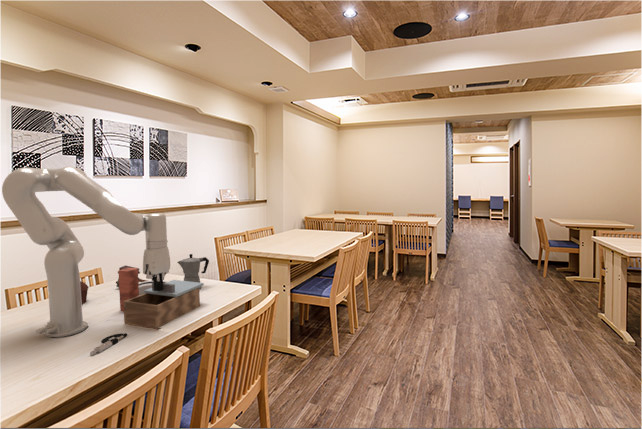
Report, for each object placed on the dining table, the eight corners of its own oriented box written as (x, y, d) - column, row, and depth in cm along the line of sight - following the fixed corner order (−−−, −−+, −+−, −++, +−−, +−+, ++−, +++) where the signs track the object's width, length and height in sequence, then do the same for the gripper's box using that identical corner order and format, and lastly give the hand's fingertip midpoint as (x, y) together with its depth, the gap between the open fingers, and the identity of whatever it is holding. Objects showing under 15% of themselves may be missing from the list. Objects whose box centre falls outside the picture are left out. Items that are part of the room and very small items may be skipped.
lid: (176, 297, 139) (175, 287, 139) (144, 292, 144) (143, 283, 144) (203, 285, 155) (203, 276, 155) (173, 281, 160) (173, 273, 160)
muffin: (94, 302, 160) (92, 280, 159) (65, 309, 151) (64, 286, 150) (82, 297, 167) (80, 276, 166) (54, 304, 158) (52, 282, 157)
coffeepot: (179, 293, 174) (178, 257, 172) (176, 288, 182) (175, 253, 180) (211, 288, 182) (211, 253, 180) (207, 284, 190) (206, 250, 188)
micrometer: (112, 335, 127) (112, 328, 127) (129, 337, 126) (129, 330, 125) (75, 355, 112) (75, 347, 112) (94, 357, 111) (94, 349, 111)
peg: (129, 314, 146) (127, 271, 144) (120, 313, 147) (118, 270, 146) (139, 310, 150) (137, 268, 149) (130, 309, 152) (128, 267, 150)
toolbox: (158, 330, 130) (157, 306, 130) (124, 324, 136) (123, 301, 135) (199, 308, 153) (199, 287, 152) (169, 304, 158) (169, 284, 157)
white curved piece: (172, 294, 172) (171, 277, 168) (171, 300, 168) (170, 283, 164) (133, 298, 167) (131, 280, 163) (132, 304, 162) (130, 286, 158)
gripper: (163, 241, 147) (164, 284, 149) (133, 247, 133) (135, 295, 135) (177, 242, 145) (179, 286, 147) (149, 248, 131) (151, 297, 133)
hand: (158, 290), depth 141 cm, fingers closed
